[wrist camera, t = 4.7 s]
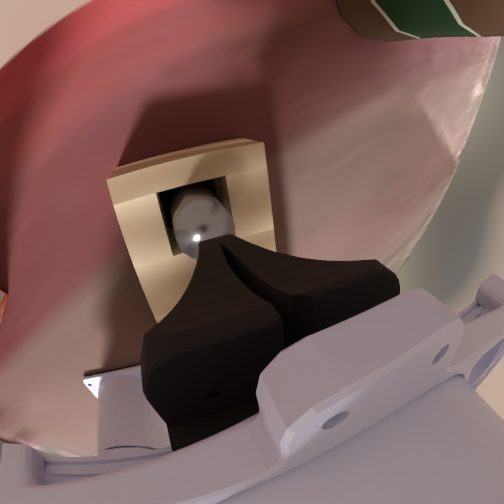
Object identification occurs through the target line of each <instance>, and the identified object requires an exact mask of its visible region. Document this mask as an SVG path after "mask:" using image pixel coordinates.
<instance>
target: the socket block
mask: <svg viewBox="0 0 504 504" xmlns="http://www.w3.org/2000/svg"><path fill="white" fill-rule="evenodd" d="M209 179H213V181H214V186H215V192H216V197H217V199H218V200H219V202H220V203H221V204H222V205H223V206H224V208H225V209H226V210H227V211H228V213H229V214H230V215H231V217H232V219H233V221H234V225H235V234H234V236H237V237H239V238H241V239H243V240H246V241H248V242H250V243H253V244H255V245H258V246H260V247H263V248H266V249H269V250H272V251H275V252H276V244H275V234H274V225H273V216H272V206H271V197H270V189H269V180H268V171H267V163H266V155H265V146H264V142H260V141H255V140H250V139H245V138H237V139H231V140H226V141H221V142H215V143H210V144H206V145H201V146H196V147H192V148H187V149H183V150H179V151H174V152H170V153H166V154H162V155H158V156H155V157H151V158H147V159H144V160H140V161H137V162H133V163H130V164H126V165H123V166H120V167H117V168H116V169H115V170H114V171H113V172H112V174H111V175H110V176H109V177H108V178H107V184H108V187H109V191H110V195H111V198H112V202H113V205H114V208H115V212H116V215H117V218H118V221H119V225H120V228H121V231H122V234H123V237H124V240H125V243H126V246H127V248H128V251H129V254H130V257H131V260H132V262H133V265H134V268H135V271H136V273H137V276H138V278H139V281H140V284H141V286H142V289H143V291H144V294H145V296H146V298H147V301H148V303H149V306H150V308H151V310H152V313H153V315H154V317H155V320H156V322H157V324H158V323H159V322H160V321H161V320H162V319H163V318H164V317H165V316H166V315H167V314H168V313H169V312H170V311H171V310H172V309H173V308H174V306H175V305H176V304H177V303H178V301H179V300H180V298H181V297H182V295H183V294H184V292H185V290H186V288H187V286H188V284H189V282H190V280H191V278H192V275H193V272H194V269H195V266H196V262H197V259H194V258H191V257H189V256H187V255H186V254H185V253H184V252H183V251H182V250H181V249H180V248H179V246H178V244H177V241H176V236H175V232H174V228H172V229H168V226H167V222H166V218H165V214H164V210H163V207H162V203H161V199H160V194H159V192H161V191H165V190H168V189H172V188H176V187H180V186H184V185H188V184H192V183H196V182H200V181H204V180H209Z"/></svg>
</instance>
